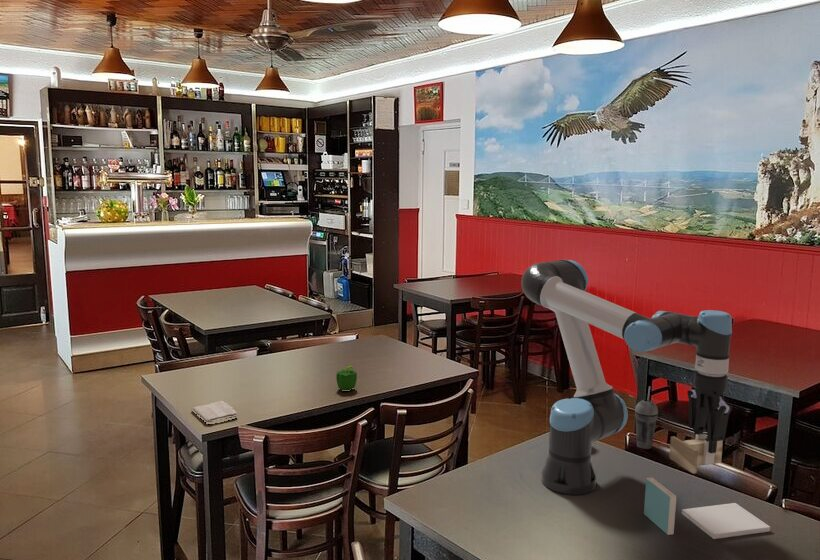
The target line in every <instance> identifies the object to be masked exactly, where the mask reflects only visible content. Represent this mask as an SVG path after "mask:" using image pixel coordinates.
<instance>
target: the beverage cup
mask: <svg viewBox="0 0 820 560" xmlns="http://www.w3.org/2000/svg"><path fill="white" fill-rule="evenodd" d="M647 392H648V393H647V399H641V400H640V401H638V402H637V404H636V406H635V409H634V416H635V428H636V429H635V431H636V437H635V438H636V446H637V448H640V449H643V450H649V449H652V448H653V442H654V437H655V430H656V425H657V420H658V418H659V417H658V416H659V409H658V406H657V404H655V402H654V401H652V400H650V393H651V386H648V391H647Z"/></svg>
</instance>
